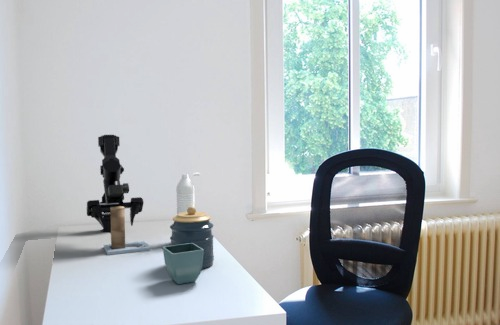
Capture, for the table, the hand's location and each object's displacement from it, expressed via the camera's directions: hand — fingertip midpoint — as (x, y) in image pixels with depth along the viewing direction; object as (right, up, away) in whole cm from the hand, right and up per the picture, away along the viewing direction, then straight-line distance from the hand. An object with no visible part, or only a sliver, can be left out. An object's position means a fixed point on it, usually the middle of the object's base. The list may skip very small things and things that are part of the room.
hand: (118, 226), depth 158 cm
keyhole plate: (+2, -8, +3) cm, 9 cm away
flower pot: (+27, -10, -33) cm, 44 cm away
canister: (+27, -9, -17) cm, 33 cm away
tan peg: (0, -8, +2) cm, 8 cm away
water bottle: (+22, -8, +13) cm, 27 cm away
